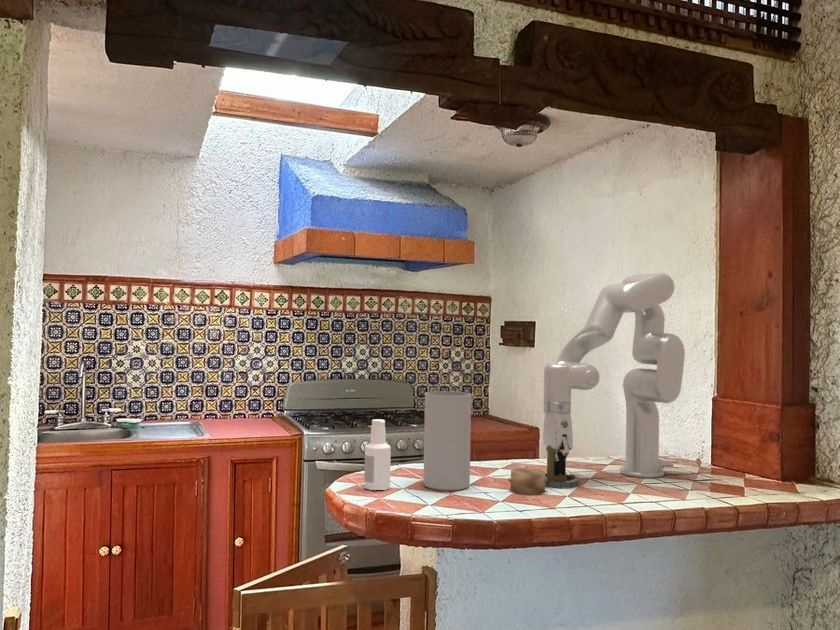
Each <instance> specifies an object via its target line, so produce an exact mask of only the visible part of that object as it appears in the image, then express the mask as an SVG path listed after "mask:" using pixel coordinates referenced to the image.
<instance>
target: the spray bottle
mask: <svg viewBox="0 0 840 630" xmlns="http://www.w3.org/2000/svg"><path fill="white" fill-rule="evenodd" d="M386 439H387V438H386V420H385V419H381V418H379V419H377V418H376V419H374V418H373V419H372V420H371V428H370V442H369V443H368V444H366V445H365V446H364V472H363V473H364V480H363V481H364V482H363V488H364V487H365V488H366V489H370V490H385V491H388V490H390V488H391V460H392V459H391V453H392V451H391V450H392V448H391V445H390V444H388V443H387V442H386ZM365 488H364V489H365ZM366 489H365V490H366ZM387 489H388V490H387ZM370 490H369V491H370Z"/></svg>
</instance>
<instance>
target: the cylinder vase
mask: <svg viewBox="0 0 840 630" xmlns="http://www.w3.org/2000/svg"><path fill="white" fill-rule="evenodd" d="M471 416H472V393H470V392H463V391H447V390H446V391H442V390H441V391H439V390H438V391H426V392H424V424H423V426H424V427H423V428H424V429H423V431H424V434H423V476H422V477H423V483H422V484H423V485H424V486H425V487H426V488H428V489H431V490H436V491H441V492H442V491H446V492H447V491H448V492H449V491H451V492H453V491H454V492H455V491H461V490H466V489H467V488H469V486H470V483H471V482H470V481H471V480H470V479H471V431H472V429H471V424H472V423H471V421H472V417H471Z"/></svg>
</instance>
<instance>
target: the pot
mask: <svg viewBox="0 0 840 630" xmlns="http://www.w3.org/2000/svg"><path fill="white" fill-rule="evenodd" d="M545 473H546V472H545V471H544V470H540V469H537V468H528V467H527V468H525V467H524V468H523V467H522V468H520V467H519V468H513V469H511V470H510V477H508V478H507V480H508V482H509V483H510V492H512V493H515V494H519V495H524V496H525V495H526V496H527V495H528V496H534V495H535V496H537V495H542V494H545V492H546V487H545V481H547V477H545Z"/></svg>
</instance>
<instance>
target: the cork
mask: <svg viewBox="0 0 840 630" xmlns="http://www.w3.org/2000/svg"><path fill="white" fill-rule="evenodd" d="M559 448H560V449H559V450H563V449H562V447H559ZM547 452H548V454H549V459H548V466H547V465H546V472H545V473H546V477H547V480H549V481H567V479H566V474H567V473H566V474H565V476H562V475H561V474H559V476H555V475H554V461H556V459H555V450H554V449H553V448H552V447H551V446H550V445H548V447H547V450H546V453H547ZM560 453H562V452H559V454H560Z"/></svg>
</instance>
